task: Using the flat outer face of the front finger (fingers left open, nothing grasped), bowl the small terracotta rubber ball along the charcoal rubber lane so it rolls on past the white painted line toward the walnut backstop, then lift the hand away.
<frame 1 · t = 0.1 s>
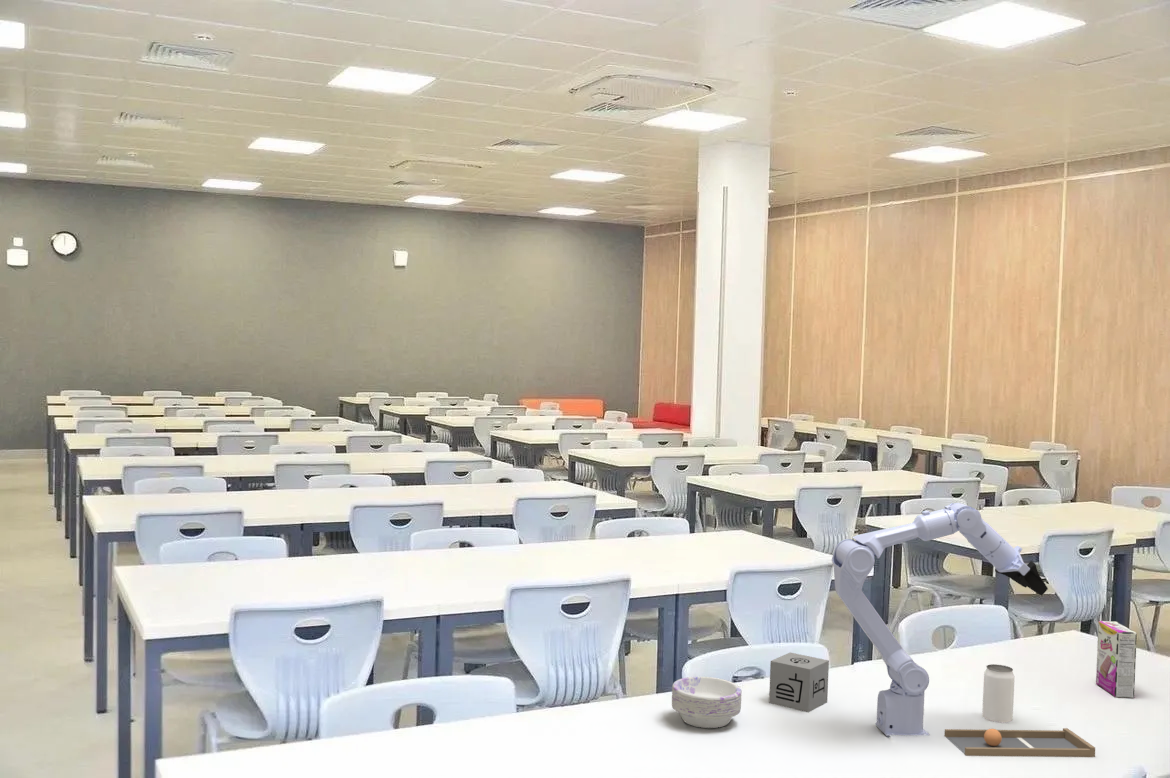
hand: (1036, 588, 241), 32 cm above the table, tool tilted 50°, fingers open, 7 cm apart
icon cube: (798, 703, 258), on the table
paper bowls: (705, 722, 243), on the table
candy bar box: (1114, 692, 275), on the table
can: (997, 721, 250), on the table
lane: (1015, 748, 232), on the table
ball: (992, 745, 231), point 1 cm above the table, touching lane
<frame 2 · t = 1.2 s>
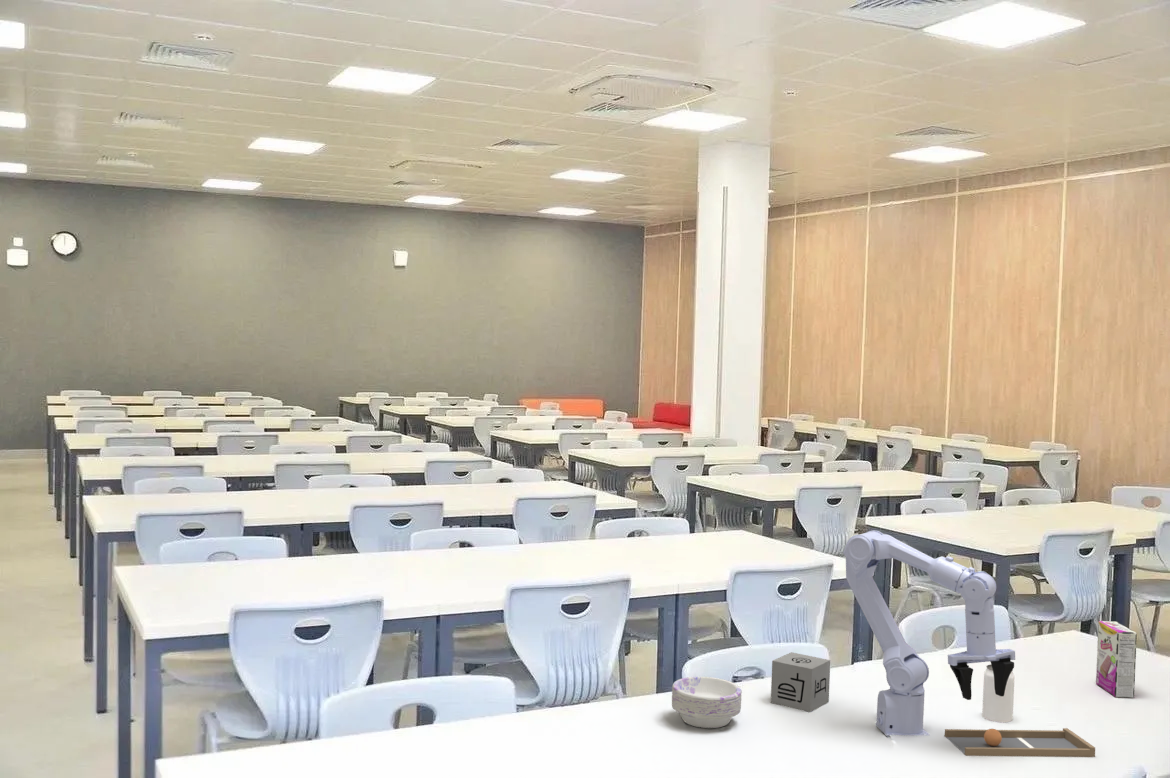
hand: (983, 697, 230), 11 cm above the table, tool pointing down, fingers open, 7 cm apart
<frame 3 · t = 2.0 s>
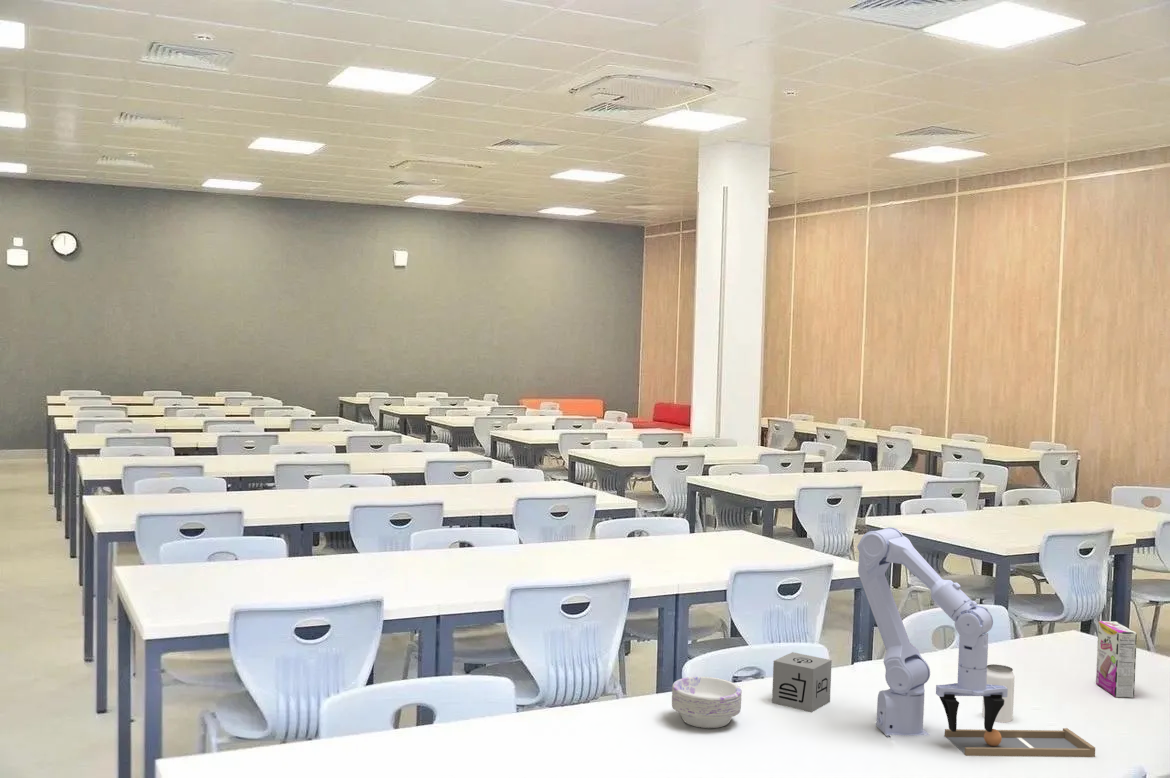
hand: (970, 730, 231), 4 cm above the table, tool pointing down, fingers open, 7 cm apart
ball: (992, 745, 231), point 1 cm above the table, touching gripper, lane
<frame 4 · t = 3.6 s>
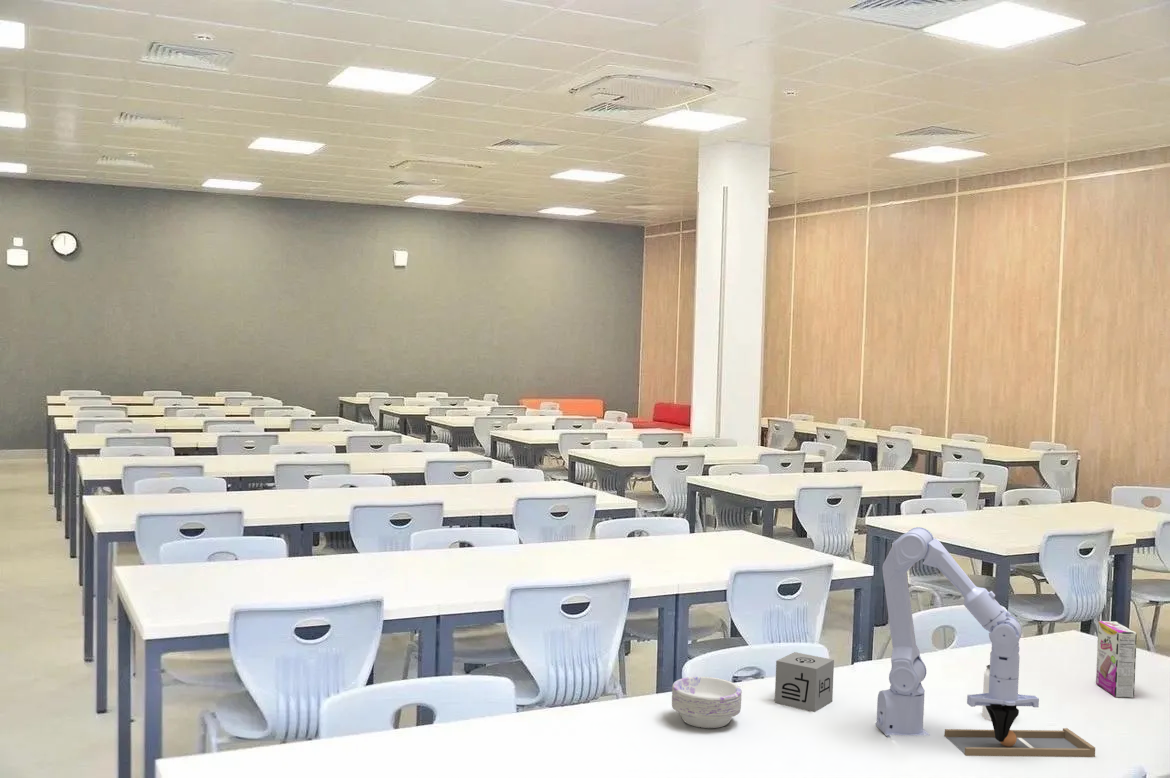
hand: (1001, 740, 231), 2 cm above the table, tool pointing down, fingers closed, pressing on ball
ball: (999, 735, 231), point 3 cm above the table, tilted 106°, touching gripper, lane
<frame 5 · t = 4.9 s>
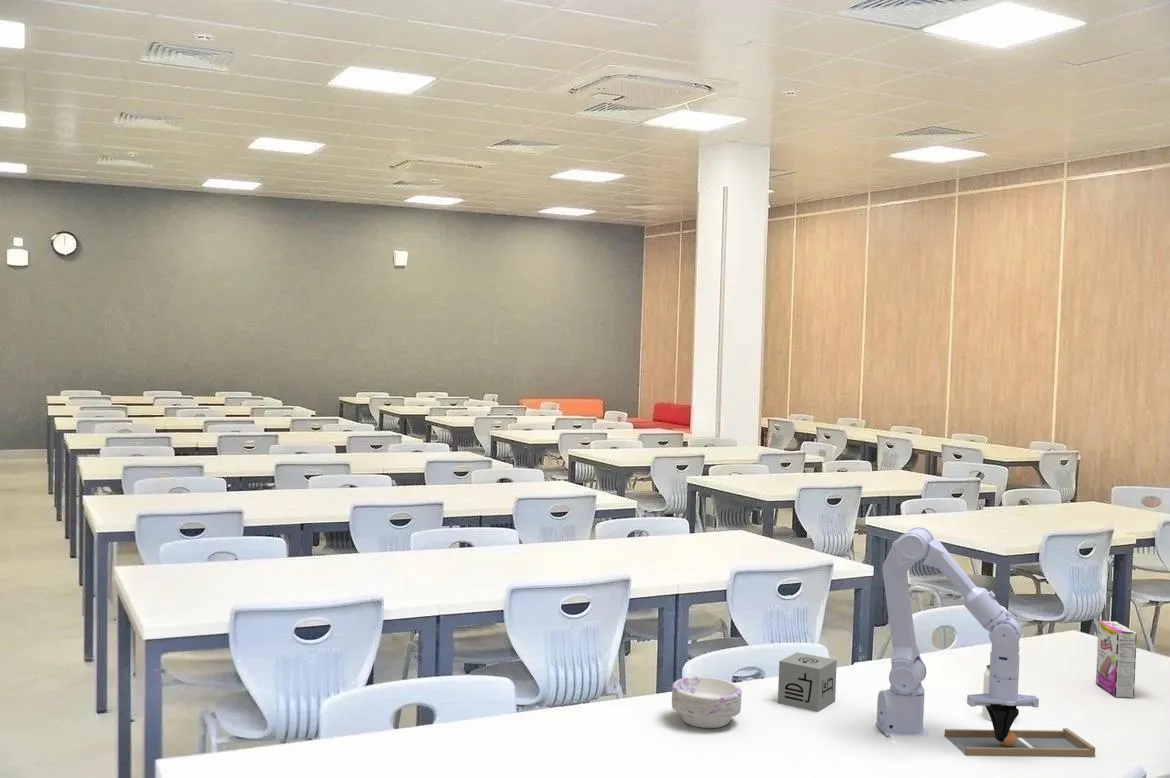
hand: (1001, 740, 231), 2 cm above the table, tool pointing down, fingers closed, pressing on ball
ball: (999, 735, 231), point 3 cm above the table, tilted 106°, touching gripper, lane
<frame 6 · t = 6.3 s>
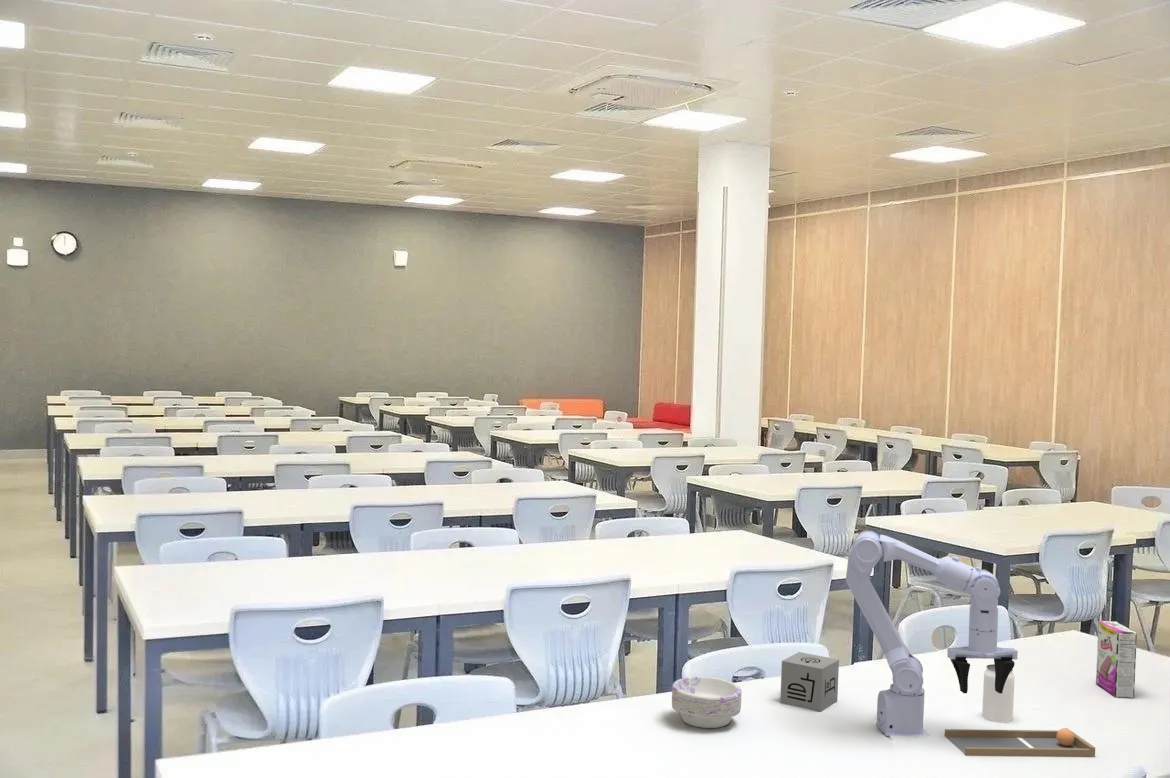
hand: (981, 692, 236), 10 cm above the table, tool pointing down, fingers open, 7 cm apart
ball: (1063, 729, 233), point 4 cm above the table, tilted 166°, touching lane
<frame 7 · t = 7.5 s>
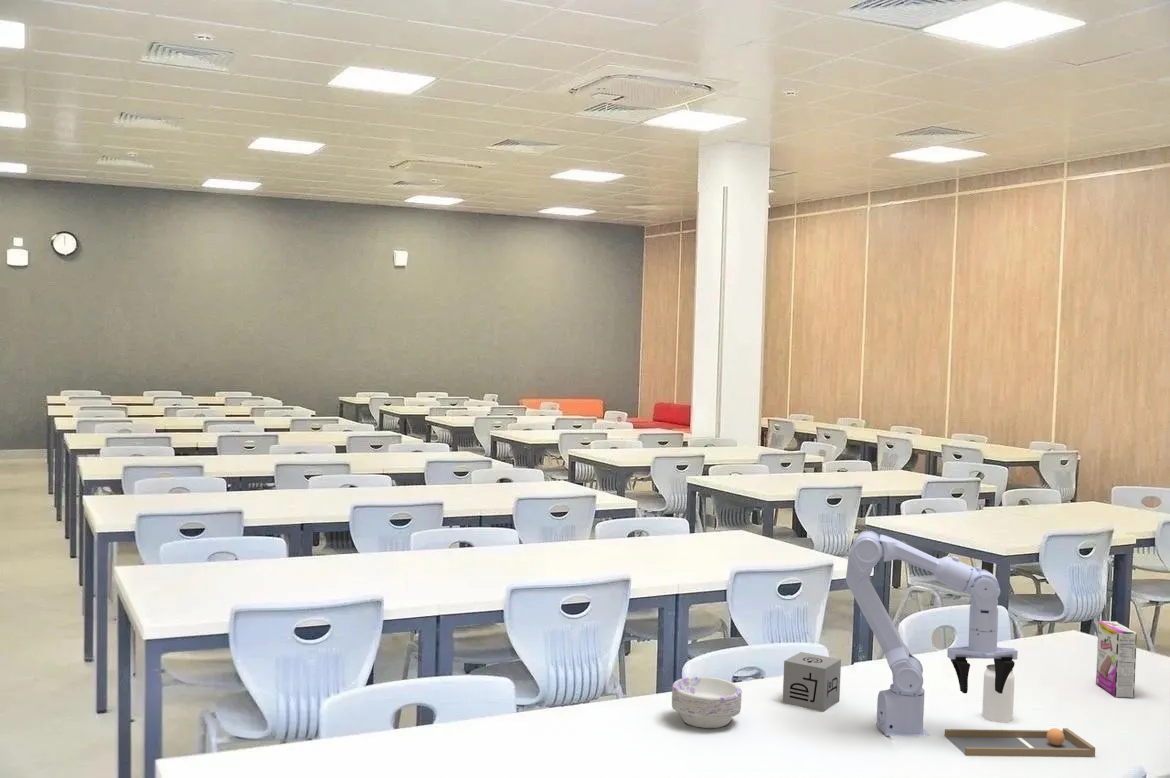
hand: (981, 692, 236), 10 cm above the table, tool pointing down, fingers open, 7 cm apart
ball: (1047, 735, 233), point 3 cm above the table, tilted 99°, touching lane
at the end: ball inside the target area on the lane (1.8 cm from its centre), point 2.4 cm above the lane's base; the gripper is holding nothing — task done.
